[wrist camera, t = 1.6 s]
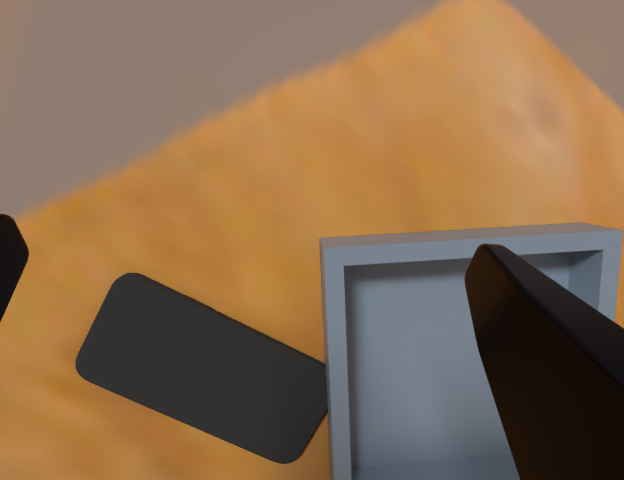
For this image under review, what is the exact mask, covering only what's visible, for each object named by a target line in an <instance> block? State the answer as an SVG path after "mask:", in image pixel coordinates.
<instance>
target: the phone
mask: <svg viewBox="0 0 624 480" xmlns="http://www.w3.org/2000/svg"><path fill="white" fill-rule="evenodd" d="M76 370H77V372H78V373H79V375H80V376H81V377H82V378H84V379H85V380H87V381H89V382H91V383H93V384H95V385H97V386H100V387H102V388H104V389H107V390H109V391H111V392H114V393H116V394H118V395H121V396H123V397H125V398H128V399H130V400H132V401H134V402H137V403H139V404H141V405H144V406H146V407H148V408H151V409H153V410H155V411H158V412H160V413H162V414H165V415H167V416H169V417H171V418H174V419H176V420H178V421H181V422H183V423H185V424H188V425H190V426H192V427H195V428H197V429H199V430H202V431H204V432H206V433H208V434H211V435H213V436H215V437H218V438H220V439H222V440H225V441H227V442H229V443H232V444H234V445H236V446H238V447H241V448H243V449H245V450H248V451H250V452H252V453H255V454H257V455H259V456H262V457H264V458H266V459H269V460H271V461H274V462H276V463H281V464H286V463H290V462H292V461H294V460H295V459H297V458H298V457H299V455H300V454H301V452H302V451H303V449H304V448H305V446H306V444H307V443H308V441H309V439H310V438H311V436H312V434H313V433H314V431H315V429H316V428H317V426H318V424H319V423H320V421H321V419H322V418H323V416H324V414H325V413H326V411H327V409H328V403H327V382H326V365H325V364H324V363H322V362H320V361H318V360H316V359H314V358H312V357H310V356H308V355H306V354H304V353H302V352H300V351H298V350H296V349H294V348H292V347H290V346H288V345H286V344H284V343H282V342H280V341H277V340H275V339H273V338H271V337H269V336H267V335H265V334H263V333H261V332H259V331H257V330H255V329H253V328H251V327H249V326H247V325H245V324H243V323H241V322H239V321H236V320H234V319H232V318H230V317H228V316H226V315H224V314H222V313H220V312H218V311H216V310H214V309H212V308H211V307H209V306H207V305H205V304H203V303H201V302H199V301H197V300H195V299H193V298H191V297H188V296H186V295H183V294H181V293H179V292H177V291H175V290H173V289H171V288H169V287H167V286H165V285H163V284H161V283H159V282H157V281H155V280H152V279H150V278H148V277H146V276H144V275H141V274H138V273H127V274H124V275H122V276H121V277H119V278H118V279H117V280H116V281H115V282H114V283H113V284H112V286H111V288H110V290H109V292H108V294H107V296H106V298H105V300H104V302H103V304H102V306H101V308H100V310H99V312H98V314H97V316H96V318H95V320H94V322H93V324H92V326H91V328H90V330H89V332H88V334H87V336H86V339H85V341H84V343H83V345H82V347H81V349H80V351H79V353H78V355H77V358H76Z"/></svg>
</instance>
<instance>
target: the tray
mask: <svg viewBox="0 0 624 480" xmlns="http://www.w3.org/2000/svg"><path fill="white" fill-rule="evenodd" d="M622 236H623V230H620V229H614V228H609V227H603V226H598V225H592V224H586V223H567V224H550V225H533V226H516V227H499V228H482V229H465V230H449V231H432V232H415V233H398V234H381V235H364V236H347V237H330V238H319V243H320V263H321V284H322V305H323V326H324V347H325V365H326V382H327V403H328V409H327V410H328V431H329V452H330V473H331V480H520V478H519V475H518V472H517V469H516V466H515V463H514V460H513V457H512V454H511V450H510V447H509V444H508V441H507V438H506V435H505V432H504V429H503V426H502V423H501V420H500V416H499V413H498V410H497V407H496V404H495V401H494V398H493V395H492V392H491V389H490V386H489V382H488V379H487V376H486V373H485V370H484V367H483V364H482V361H481V357H480V354H479V351H478V347H477V342H476V338H475V333H474V328H473V323H472V318H471V313H470V308H469V303H468V298H467V293H466V288H465V282H464V278H465V273H466V270H467V268H468V266H469V264H470V262H471V260H472V258H473V255H474V253H475V251H476V249H477V248H478V246H479V245H481V244H484V243H486V244H500V245H503V246H505V247H506V248H508V249H509V250H511V251H512V252H513V253H515V254H516V255H518V256H519V257H521V258H522V259H524V260H525V261H527V262H528V263H529V264H531V265H532V266H534V267H535V268H537V269H538V270H540V271H541V272H542V273H544V274H545V275H547V276H548V277H550V278H551V279H553V280H554V281H556V282H557V283H558V284H560V285H561V286H563V287H564V288H566V289H567V290H569V291H570V292H571V293H573V294H574V295H576V296H577V297H579V298H580V299H582V300H583V301H585V302H586V303H587V304H589V305H590V306H592V307H593V308H595V309H596V310H598V311H599V312H600V313H602V314H603V315H605V316H606V317H608V318H609V319H611V320H612V321H615V310H616V300H617V289H618V278H619V268H620V257H621V247H622Z"/></svg>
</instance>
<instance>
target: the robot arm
mask: <svg viewBox="0 0 624 480" xmlns="http://www.w3.org/2000/svg"><path fill="white" fill-rule="evenodd" d="M28 256H29V251H28V247H27V245H26V243H25V241H24V239H23V237H22V235H21V233H20V231H19V229H18V227H17V225H16V223H15V221H14V219H13V218H11V217H10V216H9V215H6V214H0V321H1V319H2V317H3V315H4V313H5V310H6V308H7V306H8V304H9V301H10V299H11V297H12V295H13V292H14V290H15V288H16V286H17V283H18V281H19V279H20V277H21V274H22V272H23V270H24V268H25V265H26V263H27V261H28ZM464 282H465V288H466V293H467V298H468V303H469V308H470V313H471V318H472V323H473V328H474V333H475V338H476V342H477V347H478V351H479V354H480V357H481V361H482V364H483V367H484V370H485V373H486V376H487V379H488V382H489V386H490V389H491V392H492V395H493V398H494V401H495V404H496V407H497V410H498V413H499V416H500V420H501V423H502V426H503V429H504V432H505V435H506V438H507V441H508V444H509V447H510V450H511V454H512V457H513V460H514V463H515V466H516V469H517V472H518V475H519V478H520V480H624V328H622V327H621V326H619V325H618V324H616V323H615V322H614V321H612V320H611V319H609V318H608V317H606V316H605V315H603V314H602V313H600V312H599V311H598V310H596V309H595V308H593V307H592V306H590V305H589V304H587V303H586V302H585V301H583V300H582V299H580V298H579V297H577V296H576V295H574V294H573V293H571V292H570V291H569V290H567V289H566V288H564V287H563V286H561V285H560V284H558V283H557V282H556V281H554V280H553V279H551V278H550V277H548V276H547V275H545V274H544V273H542V272H541V271H540V270H538V269H537V268H535V267H534V266H532V265H531V264H529V263H528V262H527V261H525V260H524V259H522V258H521V257H519V256H518V255H516V254H515V253H513V252H512V251H511V250H509V249H508V248H506V247H505V246H503V245H500V244H486V243H484V244H481V245H479V246H478V248H477V249H476V251H475V253H474V255H473V258H472V260H471V262H470V264H469V266H468V268H467V270H466V273H465V278H464Z"/></svg>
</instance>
